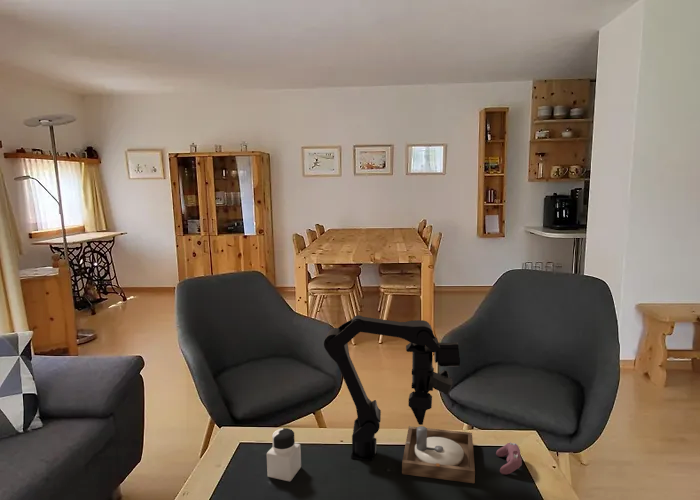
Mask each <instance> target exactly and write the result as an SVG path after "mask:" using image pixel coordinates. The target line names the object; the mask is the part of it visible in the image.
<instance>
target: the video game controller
mask: <svg viewBox="0 0 700 500" xmlns="http://www.w3.org/2000/svg"><path fill="white" fill-rule="evenodd" d="M495 455H496V456H497V457H501V458H503V457H506V463H505V464H503V465H502V466H501V467H500V468H499V473H500V474H501V475H511V474H512V473H514V472H515V471H516V470H518V469H519V468H521V467H522V465H523V463H522V461H523V460H522V457H521V450H520V447H519V445H518V444H517V443H515V442H511V441H510V442H507V443H506V444H505V445H503V446H501V447H499V448H498V449H497V450H496V452H495Z"/></svg>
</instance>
